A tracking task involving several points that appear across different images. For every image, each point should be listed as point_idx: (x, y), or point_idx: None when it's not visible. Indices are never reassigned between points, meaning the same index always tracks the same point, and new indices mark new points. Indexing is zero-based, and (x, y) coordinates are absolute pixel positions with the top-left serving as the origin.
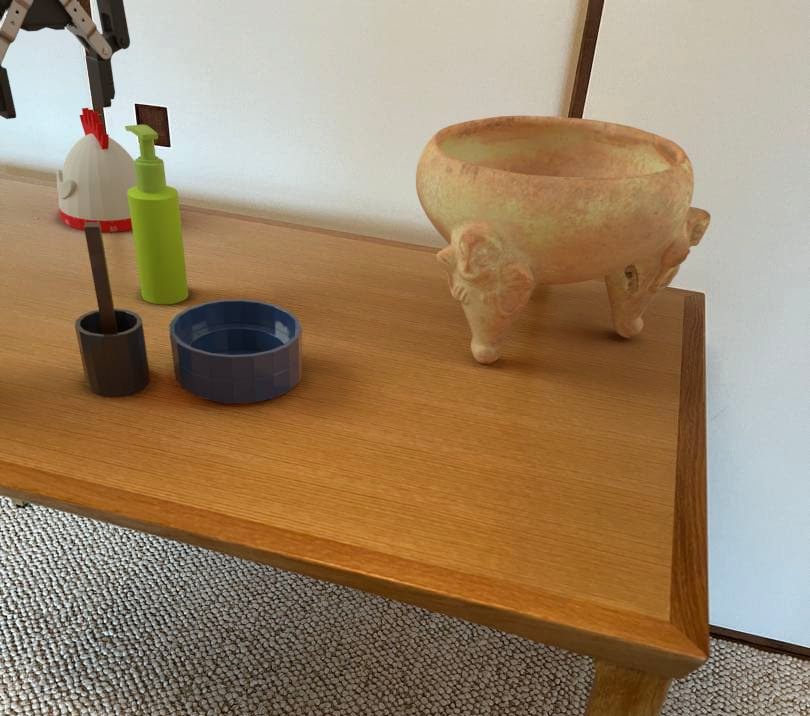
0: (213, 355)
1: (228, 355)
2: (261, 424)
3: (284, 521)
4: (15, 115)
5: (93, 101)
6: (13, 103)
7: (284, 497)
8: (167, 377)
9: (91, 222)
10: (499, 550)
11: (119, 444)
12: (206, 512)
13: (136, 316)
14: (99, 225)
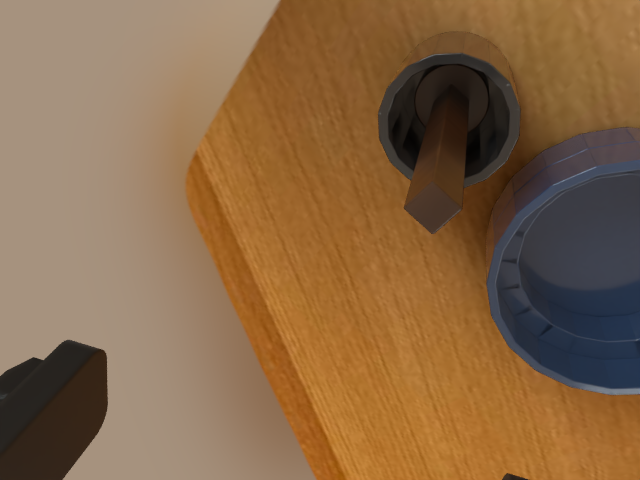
0: (495, 322)
1: (511, 341)
2: (491, 343)
3: (344, 451)
4: (98, 426)
5: (507, 477)
6: (73, 462)
7: (376, 435)
8: (522, 144)
9: (442, 196)
10: None
11: (322, 229)
12: (300, 388)
13: (505, 148)
14: (444, 224)
